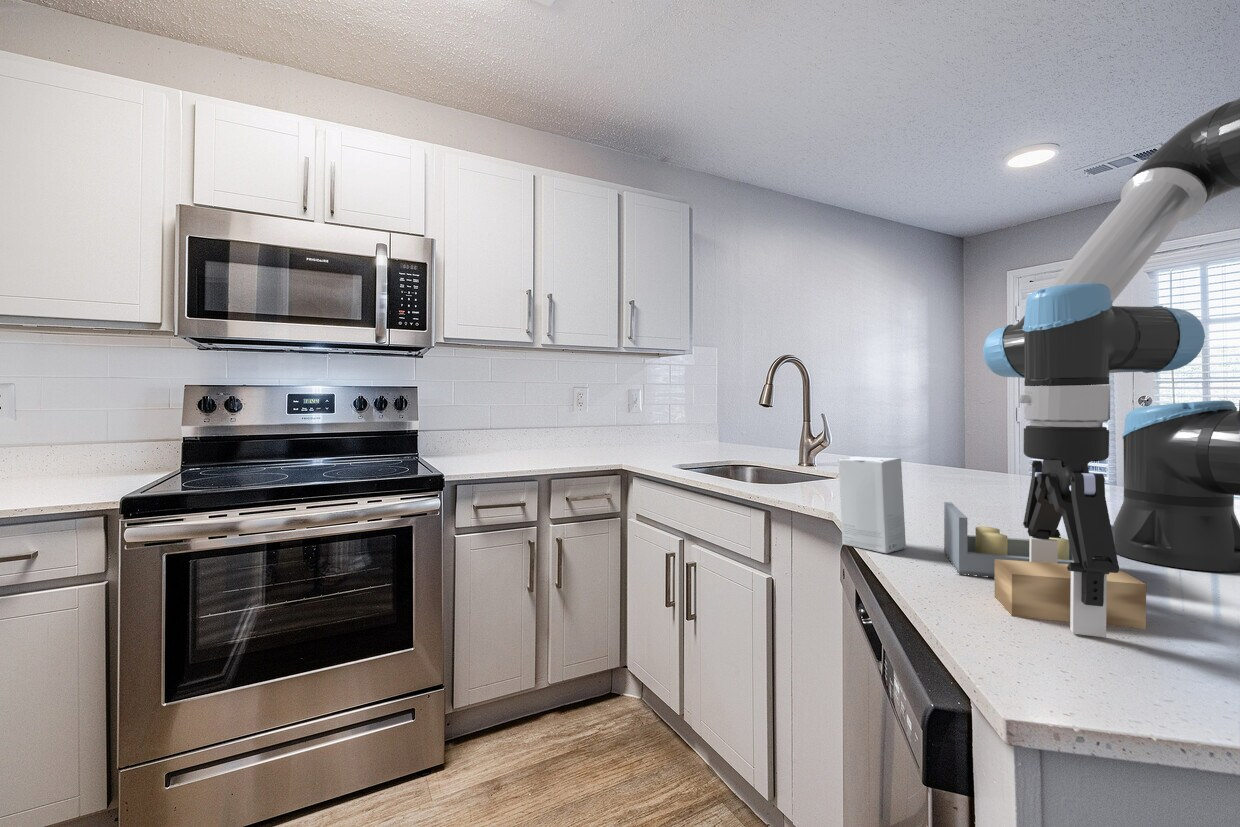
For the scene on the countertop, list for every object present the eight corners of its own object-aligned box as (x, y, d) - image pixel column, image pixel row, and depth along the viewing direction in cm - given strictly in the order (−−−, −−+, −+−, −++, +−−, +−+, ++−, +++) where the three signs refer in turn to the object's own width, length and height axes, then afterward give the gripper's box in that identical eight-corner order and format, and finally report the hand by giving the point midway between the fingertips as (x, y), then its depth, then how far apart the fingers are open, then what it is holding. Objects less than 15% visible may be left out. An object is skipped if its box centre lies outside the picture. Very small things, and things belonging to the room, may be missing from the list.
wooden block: (1115, 610, 63) (1115, 567, 63) (1145, 631, 58) (1146, 584, 58) (994, 599, 67) (994, 559, 67) (1011, 618, 62) (1011, 573, 62)
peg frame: (1077, 562, 81) (1077, 508, 80) (1114, 589, 70) (1114, 526, 69) (944, 552, 87) (944, 502, 87) (959, 574, 76) (959, 517, 76)
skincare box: (906, 549, 89) (906, 458, 89) (885, 555, 86) (884, 460, 86) (859, 538, 96) (858, 454, 96) (838, 544, 93) (837, 456, 93)
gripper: (996, 420, 75) (996, 574, 75) (1065, 429, 52) (1063, 651, 52) (1064, 420, 72) (1063, 580, 73) (1168, 430, 49) (1165, 665, 50)
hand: (1063, 610), depth 63 cm, fingers open, 13 cm apart
